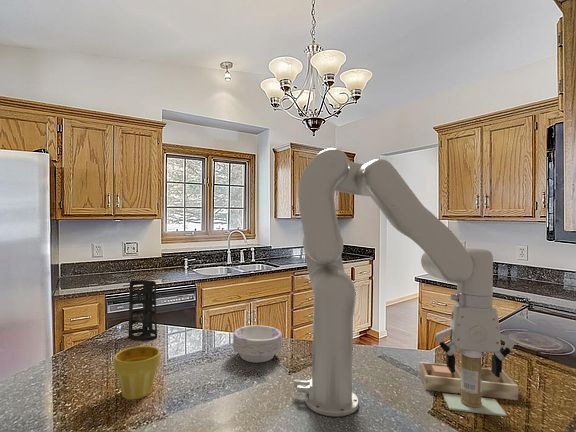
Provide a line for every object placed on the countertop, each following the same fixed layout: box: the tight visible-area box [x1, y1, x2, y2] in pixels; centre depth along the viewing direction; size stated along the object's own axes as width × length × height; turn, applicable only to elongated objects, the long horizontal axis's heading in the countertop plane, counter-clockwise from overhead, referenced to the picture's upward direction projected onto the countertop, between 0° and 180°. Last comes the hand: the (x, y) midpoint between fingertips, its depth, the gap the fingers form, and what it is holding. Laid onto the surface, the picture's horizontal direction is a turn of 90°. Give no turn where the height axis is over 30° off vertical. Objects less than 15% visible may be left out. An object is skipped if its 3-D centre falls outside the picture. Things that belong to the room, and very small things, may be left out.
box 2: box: [481, 367, 519, 401], centre depth 91 cm, size 10×10×4 cm
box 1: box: [418, 361, 461, 395], centre depth 93 cm, size 10×10×4 cm
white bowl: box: [232, 324, 283, 364], centre depth 109 cm, size 15×15×8 cm
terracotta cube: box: [431, 365, 451, 378], centre depth 93 cm, size 4×4×4 cm
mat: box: [442, 392, 508, 417], centre depth 83 cm, size 12×7×1 cm, turn 78°
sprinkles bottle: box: [460, 350, 483, 408], centre depth 83 cm, size 5×5×13 cm
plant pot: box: [113, 345, 161, 401], centre depth 85 cm, size 10×10×10 cm
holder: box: [128, 279, 158, 341], centre depth 125 cm, size 11×8×20 cm
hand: (473, 372), depth 83 cm, fingers open, 9 cm apart
